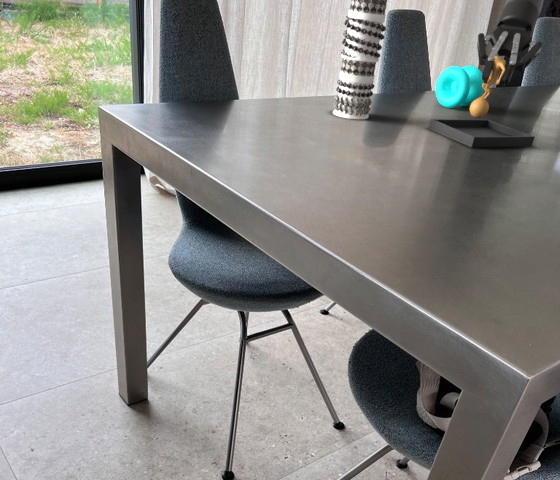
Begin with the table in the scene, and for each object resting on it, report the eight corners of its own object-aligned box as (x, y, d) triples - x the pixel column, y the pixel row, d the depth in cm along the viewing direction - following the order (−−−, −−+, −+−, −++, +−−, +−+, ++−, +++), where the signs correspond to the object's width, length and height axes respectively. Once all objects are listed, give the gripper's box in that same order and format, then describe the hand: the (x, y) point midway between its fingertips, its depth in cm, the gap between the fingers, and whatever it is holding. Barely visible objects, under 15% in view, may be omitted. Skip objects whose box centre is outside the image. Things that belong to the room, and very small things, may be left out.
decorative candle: (325, 114, 130) (343, -17, 116) (339, 108, 137) (357, -16, 123) (362, 121, 128) (385, -11, 113) (374, 115, 135) (398, -10, 120)
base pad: (485, 128, 136) (488, 119, 134) (531, 146, 125) (534, 136, 124) (427, 128, 129) (430, 119, 128) (471, 147, 118) (474, 137, 117)
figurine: (461, 115, 128) (471, 54, 122) (487, 114, 129) (498, 54, 122) (475, 121, 121) (487, 57, 115) (502, 121, 122) (515, 57, 115)
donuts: (429, 103, 156) (438, 62, 150) (449, 101, 162) (459, 62, 156) (459, 112, 150) (471, 70, 144) (479, 109, 156) (491, 69, 150)
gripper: (489, -7, 119) (462, 63, 117) (559, 2, 115) (532, 75, 113) (485, 22, 126) (459, 88, 124) (551, 31, 122) (525, 100, 120)
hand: (494, 81), depth 119 cm, fingers closed on figurine, 3 cm apart
